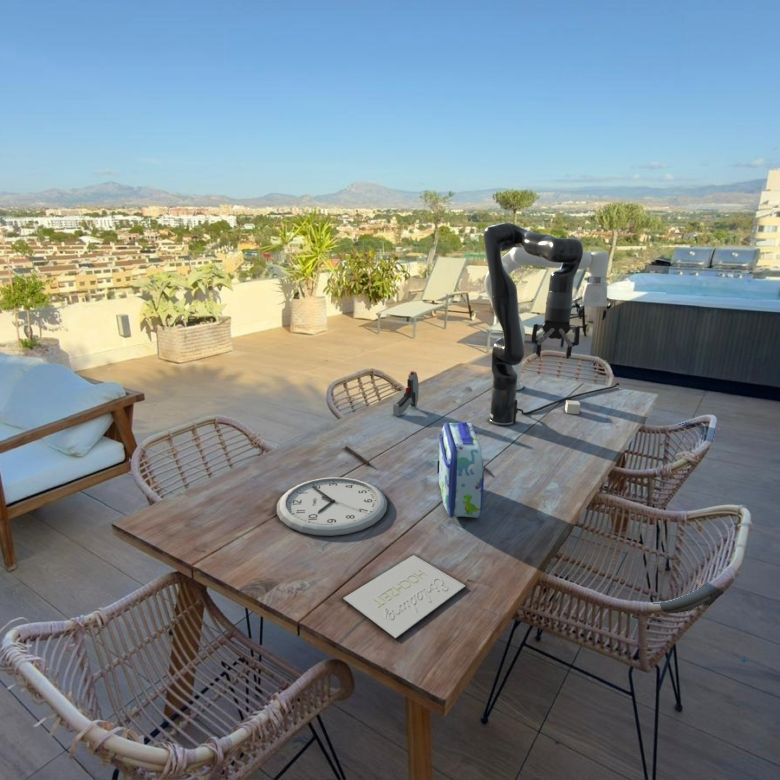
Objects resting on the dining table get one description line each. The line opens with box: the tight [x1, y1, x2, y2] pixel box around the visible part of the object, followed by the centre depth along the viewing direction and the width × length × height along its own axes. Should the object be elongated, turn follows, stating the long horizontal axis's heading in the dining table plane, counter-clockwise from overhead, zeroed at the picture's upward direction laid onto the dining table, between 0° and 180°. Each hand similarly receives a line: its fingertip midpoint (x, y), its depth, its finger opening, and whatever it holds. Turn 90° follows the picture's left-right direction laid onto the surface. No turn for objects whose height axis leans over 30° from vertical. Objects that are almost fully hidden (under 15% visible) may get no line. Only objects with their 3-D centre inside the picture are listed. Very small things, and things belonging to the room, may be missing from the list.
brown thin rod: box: [344, 445, 370, 465], centre depth 173 cm, size 15×1×1 cm, turn 34°
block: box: [564, 399, 581, 415], centre depth 219 cm, size 5×5×4 cm
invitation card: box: [343, 554, 466, 639], centre depth 109 cm, size 21×1×15 cm
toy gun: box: [392, 370, 420, 417], centre depth 214 cm, size 2×16×15 cm
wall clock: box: [276, 476, 388, 537], centre depth 142 cm, size 30×2×30 cm
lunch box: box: [436, 421, 485, 519], centre depth 143 cm, size 26×11×21 cm, turn 179°
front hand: (552, 357), depth 165 cm, fingers open, 8 cm apart
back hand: (591, 319), depth 236 cm, fingers open, 9 cm apart
